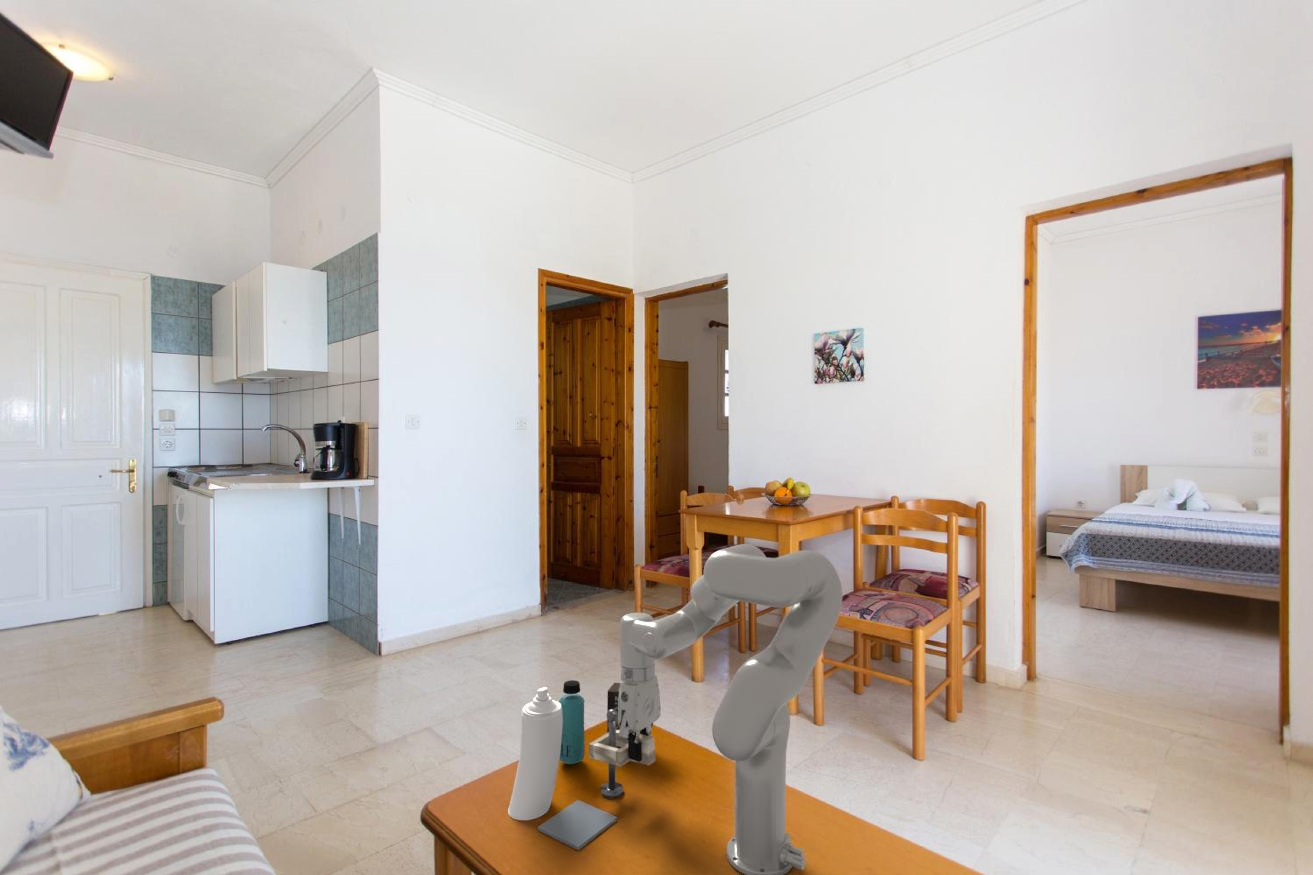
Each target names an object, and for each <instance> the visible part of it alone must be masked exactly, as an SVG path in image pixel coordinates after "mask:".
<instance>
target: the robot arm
mask: <svg viewBox="0 0 1313 875" xmlns="http://www.w3.org/2000/svg"><path fill="white" fill-rule="evenodd" d="M691 585H692V586H691V588H690V596H691V599H690V601H688V603H686V604H685V605H684V606H683V607H682V608H681V609H679V610H677V612H675V613H672V614H670V615H667V616H664V617H662V618H659V619H655V620H654V618H653V616H652V615H650V614H649V613H646V612H631V613H627V614H624V615H623V616H622V617H621V618H620V620H619V644H620V645H619V646H620V648H619V649H620V650H619V651H620V654H619V655H620V682H619V683H620V689H619V699H618V723H619V727H620V731H619V736H620V737H623V738H626V740H627V741H628V757H629V759H632V760H635V761H638V762H640V761H641V760H642V752H641V742H639V740H640V734H642V735H646V736H652V728H653V726H654V723H655V722H656V721H658V720H659V719H660V717H661V697H660V696H661V694H660V686H659V685H660V684H659V680H658V676H657V673H656V661H655V660H660V659H664V658H666V657H668V656H671V655H673V654H675V653H677V652H679V651H681V650H684V649H687V648H688V647H690V646H691V645H694V644H695V643H696V642H698V641H699V640H700V639H701V638H702V637H704V636H705V635H706V634H707V633H708V632H710V631H711V629H713V628H714V627H715V626H716V625H717V623H718V622H719V621H720V620H722V616H724V615H725V614H727V612H728V611H730V610H731V609H733V607H734V606H735V605H737V604H738V603H740V602H743V603H744V602H745V603H749V604H755V605H761V606H764V607H766V606H767V607H772V608H782V609H783V608H789V607H790V609H789V610H788V611H787V613H786V615H785V616H784V617H783V619H782V621H781V623H780V624H779V627H778V629H777V632H776V634H775V635H774V637H773V638H772V640H771V642H770V643H769V645H768V646H767V647H766V648H765V649H763V650H761V651H760V652H758V653H756V654H755V655H753V656H751V657H749V658H748V659H747V660H745V662H743V663H742V664H741V666H740V667H739V668H738V670H737V671H736V672H735V675H734V676H733V678H732V679H731V682H730V684H729V686H728V688H727V690H726V692H725V693H724V696H723V698H722V700H721V702H720V703H719V706H718V708H717V710H716V712H715V714H714V717H713V722H712V725H711V729H712V730H711V732H712V739H713V741H714V745H715V747H716V748H717V750H718V751H719V753H721V755H722V756H724V757H725V758H727V759H728V760H731V761H734V763H735V764H734V836H732V838H730V840H729V841H728V842H727V844H726V858H727V861H728V862H729V864H730V865H731V866H732V867H733V868H734V869H735V870H736V871H738V872H739V873H742V874H744V875H785V874H787V873H788V872H789V871H790V870H791V869H792V868H793V867H794V868H796V869H798V870H800V871H803V870H805V868H806V863H807V862H806V858H805V857H804V855H805V851H804V849H801V848H798V847H795V846H793V844H791V834H788V833H786V786H787V785H786V780H787V778H786V777H787V772H786V771H787V770H786V769H787V749H788V743H789V742H788V740H789V735H790V728H791V716H790V709H789V705H788V703H789V702H791V700H793V699H795V698H796V697H797V696H798V695H799V694H800V693H801V692H802V691H803V689H804V688H805V686H806V685H807V682H808V680H809V678H810V675H811V673H812V672H813V669H814V668H815V666H816V664H817V662H818V660H819V658H820V657H821V654H822V653H823V651H824V649H825V646H826V644H827V643H828V640H829V639H830V637H831V635H832V632H833V631H834V629H835V626H836V624H837V622H838V619H839V616H840V614H841V610H842V605H843V588H842V583H841V578H840V577H839V574H838V572H837V570H836V568H835V566H834V565H833V563H832V562H831V561H830V559H829V558H827V557H826V556H825V555H823V554H822V553H820V552H818V551H815V550H807V549H805V550H804V549H803V550H797V551H794V552H790V553H787V554H784V555H782V556H777V557H767V556H766V555H765V553H764V551H762V550H761V549H760V548H759V547H757V546H755V545H752V544H748V543H744V544H743V543H742V544H737V545H733V546H729V547H725V548H722V549H719V550H717V551H715V552H713V553H712V554H711V555H710V556H709V557H708V558H707V560H706V561H705V564H704V567H703V574H702V575H701V576H700V577H699V578H698V579H696V580H695V581H694V582H693V583H692V584H691ZM631 731H634V734H633V733H631ZM638 762H637V763H638Z"/></svg>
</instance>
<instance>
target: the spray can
mask: <svg viewBox="0 0 1313 875" xmlns="http://www.w3.org/2000/svg"><path fill="white" fill-rule="evenodd" d="M520 714H521V725H520V726H521V732H520V748H519V749H520V750H519V759H518V763H517V768H516V773H515V779H514V783H513V787H512V793H511V798H510V802H509V806H508V809H507V813H508V816H509V817H510V818H512V819H514V820H517V821H530V820H534V819H538V818H540V817H542V816H544V815H545V814H547V813H548V811H549V810H550V809H551V808H550V807H551V804H552V799H553V795H554V792H555V786H556V781H557V780H556V779H557V775H558V771H559V764H560V751H561V738H562V725H563V715H562V708H561V704H560V703H559V701H557V700H554V699H553V698H552V696H550V694H549V693H548V687H541V688H538V689H537V690H536V695H535V696H534V697H533V699H532V701H531V702H528V703H526V704H525V705H524V706H523V707H522V711H521V713H520Z"/></svg>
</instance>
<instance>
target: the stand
mask: <svg viewBox="0 0 1313 875" xmlns="http://www.w3.org/2000/svg"><path fill="white" fill-rule="evenodd" d="M617 718H618V712H617V711H616V710H615V709H610V710H609V711H608V712H606V719H608V720H609V746H610V747H614V748H616V719H617ZM616 772H617V767H616V765H613V764H609V763H608V782H606V783H603V784H602V785H601V787H600V795H601V796H602V797H603V798H605V799H618V798H619V797H622V796H623V794H624V785H623V784H622V783H620V782H617V779H616V776H617V774H616Z"/></svg>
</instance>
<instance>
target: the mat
mask: <svg viewBox="0 0 1313 875" xmlns="http://www.w3.org/2000/svg"><path fill="white" fill-rule="evenodd" d="M617 821H618V817H617V816H615V815H614V814H611V813H608V812H607V811H604V810H602V809H599V808H597V807H595V806H592V805H590V804H589V803H586V802H584V801H581V800H579V799H576V801H574V802H572V803H571V804H569V805H568V806H566V807H565V808H564V809H562V810H560V811H559V812H558V813H556V814H555V815H553V816H552V817H550V818H549V819H547V820H546V821H545V822H543V823H542V824H540V825H539V826H537V830H538V831H539V832H541V833H543V834H545V835H546V836H548V837H551V838H553V839H554V840H557V841H559V842H560V843H563V844H565V845H567V846H568V847H571V848H573V849H575V850H577V851H580V850H581V849H582V848H583V847H585V846H586V845H587V844H588V843H590V842H591V841H592V840H593V839H594V838H597V837H598V835H600V834H601V833H603V832H604V831H605V830H606V829H608V828H609V827H610V826H612V825H613V824H614V823H615V822H617Z"/></svg>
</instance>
